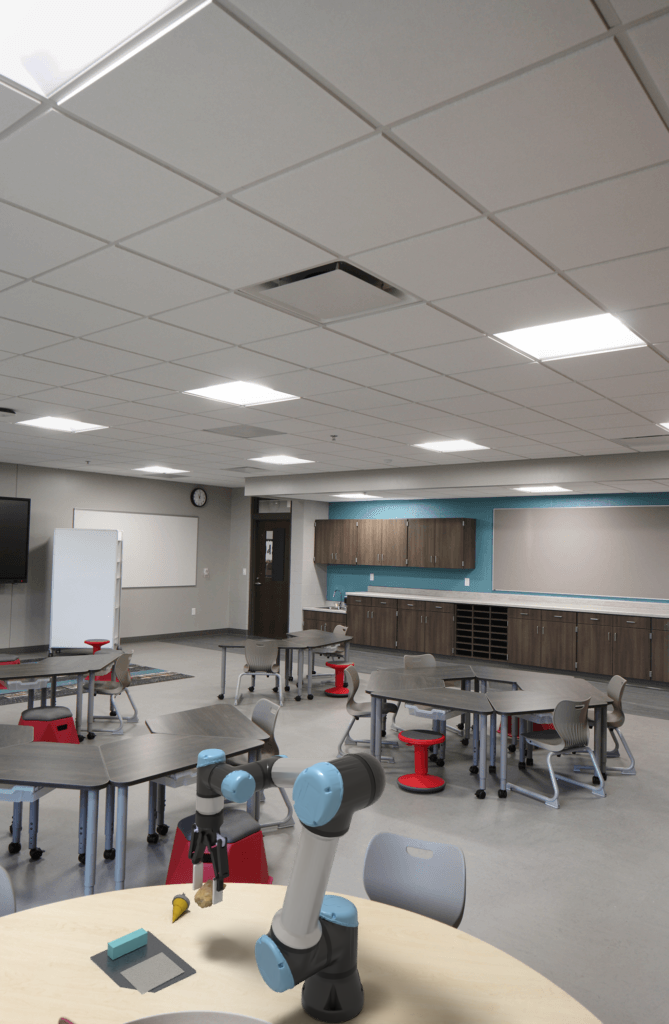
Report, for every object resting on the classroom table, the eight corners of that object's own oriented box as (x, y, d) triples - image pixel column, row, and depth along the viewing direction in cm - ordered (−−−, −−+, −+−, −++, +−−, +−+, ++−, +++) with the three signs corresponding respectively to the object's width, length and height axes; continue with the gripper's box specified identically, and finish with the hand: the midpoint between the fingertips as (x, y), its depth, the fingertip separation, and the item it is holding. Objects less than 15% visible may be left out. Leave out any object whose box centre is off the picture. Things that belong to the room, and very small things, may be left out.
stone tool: (210, 890, 170) (205, 864, 179) (191, 911, 170) (187, 884, 179) (235, 905, 174) (228, 878, 183) (217, 926, 173) (211, 898, 182)
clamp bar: (147, 943, 177) (147, 932, 178) (112, 959, 170) (113, 948, 170) (141, 939, 180) (142, 927, 180) (107, 954, 172) (107, 943, 173)
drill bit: (194, 889, 198) (182, 918, 188) (192, 902, 199) (180, 931, 190) (177, 884, 198) (164, 913, 189) (176, 897, 200) (163, 926, 190)
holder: (196, 974, 167) (196, 970, 167) (135, 1007, 155) (135, 1002, 155) (148, 934, 184) (148, 929, 184) (90, 960, 172) (90, 956, 172)
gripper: (245, 817, 170) (242, 906, 169) (199, 794, 186) (197, 875, 185) (221, 826, 165) (218, 917, 164) (176, 801, 181) (173, 884, 179)
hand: (207, 895), depth 174 cm, fingers closed on stone tool, 9 cm apart
